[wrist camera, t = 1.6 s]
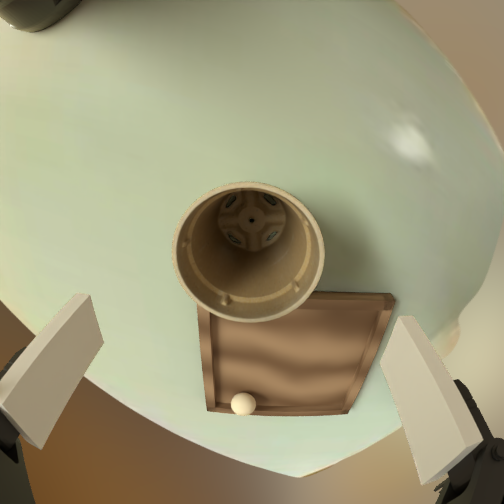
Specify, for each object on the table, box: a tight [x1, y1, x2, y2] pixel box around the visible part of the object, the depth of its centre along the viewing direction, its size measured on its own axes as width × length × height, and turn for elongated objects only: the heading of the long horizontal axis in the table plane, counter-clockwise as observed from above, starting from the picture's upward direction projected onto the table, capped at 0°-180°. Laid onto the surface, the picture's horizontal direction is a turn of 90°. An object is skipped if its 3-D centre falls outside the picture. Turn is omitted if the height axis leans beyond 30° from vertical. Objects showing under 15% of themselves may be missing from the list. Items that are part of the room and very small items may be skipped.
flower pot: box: [172, 182, 325, 323], centre depth 21 cm, size 9×9×9 cm
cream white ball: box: [231, 393, 256, 416], centre depth 32 cm, size 3×3×3 cm
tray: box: [197, 291, 395, 416], centre depth 31 cm, size 20×20×2 cm
